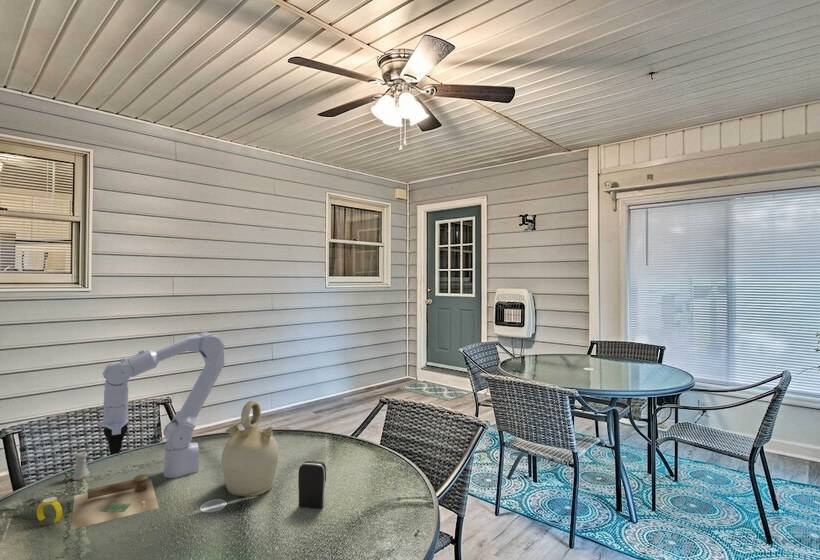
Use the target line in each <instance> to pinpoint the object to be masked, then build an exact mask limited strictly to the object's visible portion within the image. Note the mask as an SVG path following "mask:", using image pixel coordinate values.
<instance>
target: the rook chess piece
mask: <svg viewBox="0 0 820 560" xmlns="http://www.w3.org/2000/svg"><path fill="white" fill-rule="evenodd" d="M87 457H88V454H87V451H79V452H76V453H75V456H74V457H73V458H74V460H75V461H74V463H75V467H74V471H73V474H72V475H71V479H72V480H73V481H81V480H85V479H87V478H88V477H89V476H90V471H89V470H88V469H87V461H88V460H87Z"/></svg>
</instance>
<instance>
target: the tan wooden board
mask: <svg viewBox="0 0 820 560" xmlns="http://www.w3.org/2000/svg"><path fill="white" fill-rule="evenodd" d="M153 485H154V484H153V482H152V479H147V489H146V490H144V491H141V492H136V491H135V489H131V490H126V491H122V492H117V493H112V494H108V495H103V496H99V497H94V498H90V499H88V492H86V493H81V494H77V495H74V497H73V505H72V515H71V516H72V517H71V523H70V525H71V526H70V530H71V531H73V530H76V529H77V530H78V529H80V528H85V527H88V526H89V527H90V526H93V525H97V524H101V523H104V522H109V521H112V520H116V519H121V518H125V517H129V516H134V515H138V514H141V513H145V512H150V511H153V510H157V509H159V507H160V506H159V503H158V499H157V497H156V496H157V495H156V493H155V488H154V486H153Z"/></svg>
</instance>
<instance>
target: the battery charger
mask: <svg viewBox="0 0 820 560" xmlns="http://www.w3.org/2000/svg"><path fill="white" fill-rule="evenodd" d="M297 479H298V487H297V488H298V507H300V508H306V507H311V508H310V509H323V508H324V506H325V485H326V484H325V483H326V482H327V467H326V464H325V463H324V462H322V461H313V460H312V461H311V460H306V461H304V462H303V463H301V465H300V466H299V467H298V478H297ZM322 507H323V508H322Z"/></svg>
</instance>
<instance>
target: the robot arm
mask: <svg viewBox="0 0 820 560" xmlns="http://www.w3.org/2000/svg"><path fill="white" fill-rule="evenodd" d="M186 352H192V353H200V354H201V355H202V358H203V361H204V363H205V364H204V367H203V368H202V370H201V372H200V374H199V376H198V377H197V378H196V379H197V380H196V382H194V383H195V384H194V385H193V386H192V389H191V391H190V392H189V394H188V395H187V398H186V400H185V402H184V404H183V405H182V407H181V409H180V411H178V412H177V413H176V414H175V415H174V417H173V418H172V420H171V421H170V422H169V423H167V424H166V425H165V427H164V429H163V436H164V437H165V439H166V442H165V444H164V446H163V451H164V452H163V453H164V454H163V476H164V477H165V478H168V479H175V478H180V477H184V476H187V475H191V474H196V473H199V470H200V469H199V468H200V464H199V462H200V449H199V448H200V447H199V444H198V442H192V439H193V432H194V429H195V428H196V424H197V421H196V420H197V417H198V416H199V413H200V412H201V410H202V408H203V406H204V404H205V402H206V400H207V398H208V396H209V395H210V393H211V391H212V388H213V387H214V385H215V383H216V382H217V380H218V378H219V376H220V374H221V372H222V370H223V368H224V366H225V344H224V342H223V339H221V337H220V336H219V335H217V334H213V333H211V332H208V331H202V332H199V333H198V334H196V333H195V334H192V335H190V336H186V337H185V338H182V339H180V340H178V341H175V342H174V343H171V344H169V345H167V346H164V347H162V348H160V349H158V350H155V351H153V350H152V349H151V350H150V349H146V350H145V349H141V350H139V351H138V353H137V354H134V355H132V356H129V357H126V358H125V357H123V358H120V361H113V362H111V363H108V365H107V366H105V368H104V370H103V372H102V375H103V378H104V379H105V382H104V389H103V421H99V422H98V427H105V428H103V430H102V431H103V435H104V437H105V438H106V440H107V445H108V448H109V453H110V455H116V454H121V453H120V452H121V449H122V444H123V441H124V437H125V435H126V433H127V432H128V425H127V424H128V423H129V417H128V416H129V412H128V411H129V409H128V408H129V387H128V381H129V380H130V378H134V377H136V376H139V375H141V374H143V373H146V372H148V371H151V370H153V369H155V368H157V367H158V364H159V363H160V362H161V361H164V360H167V359H170V358H172V357H175V356H177V355H180V354H182V353H186Z"/></svg>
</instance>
